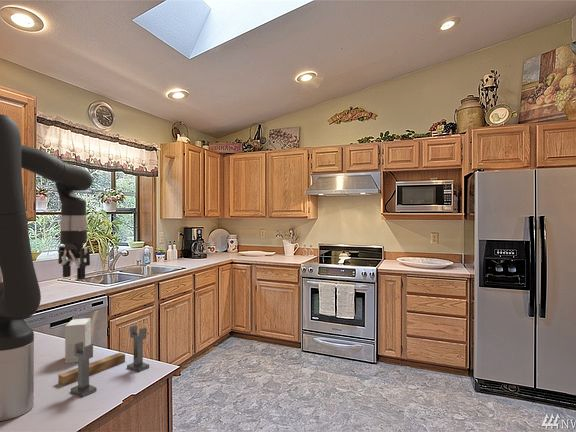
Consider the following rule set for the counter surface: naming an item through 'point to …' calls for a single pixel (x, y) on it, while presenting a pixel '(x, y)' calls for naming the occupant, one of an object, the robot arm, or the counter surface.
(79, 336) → the small box
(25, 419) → the counter surface
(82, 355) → the grey support rack
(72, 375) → the tan wooden bar
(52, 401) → the counter surface
